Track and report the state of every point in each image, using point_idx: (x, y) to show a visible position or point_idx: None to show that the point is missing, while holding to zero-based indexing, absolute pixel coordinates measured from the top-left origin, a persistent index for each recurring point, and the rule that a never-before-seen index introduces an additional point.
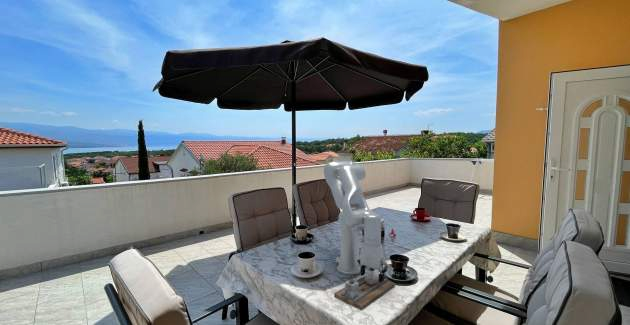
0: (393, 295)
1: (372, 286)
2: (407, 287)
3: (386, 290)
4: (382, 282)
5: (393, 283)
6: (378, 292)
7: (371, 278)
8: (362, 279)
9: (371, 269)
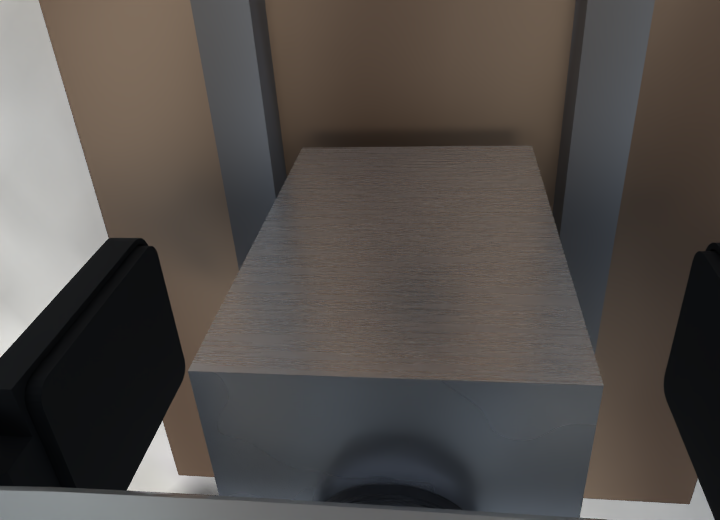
0: (32, 234)
1: None
2: None
3: None
4: None
5: (188, 462)
6: (99, 41)
7: (307, 215)
8: None
9: (351, 473)
